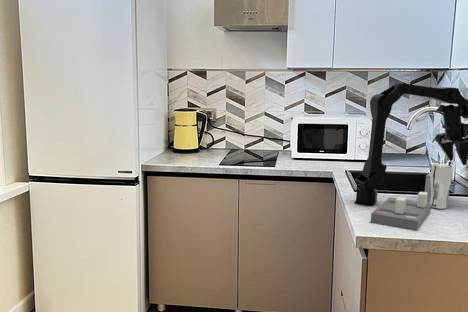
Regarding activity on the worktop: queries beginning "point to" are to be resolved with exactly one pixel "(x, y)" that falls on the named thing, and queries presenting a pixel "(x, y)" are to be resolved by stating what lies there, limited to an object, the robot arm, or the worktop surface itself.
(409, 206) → the switch panel
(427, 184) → the light bulb box
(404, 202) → the off-white switch lever
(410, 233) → the worktop surface
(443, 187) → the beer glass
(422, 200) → the off-white block
